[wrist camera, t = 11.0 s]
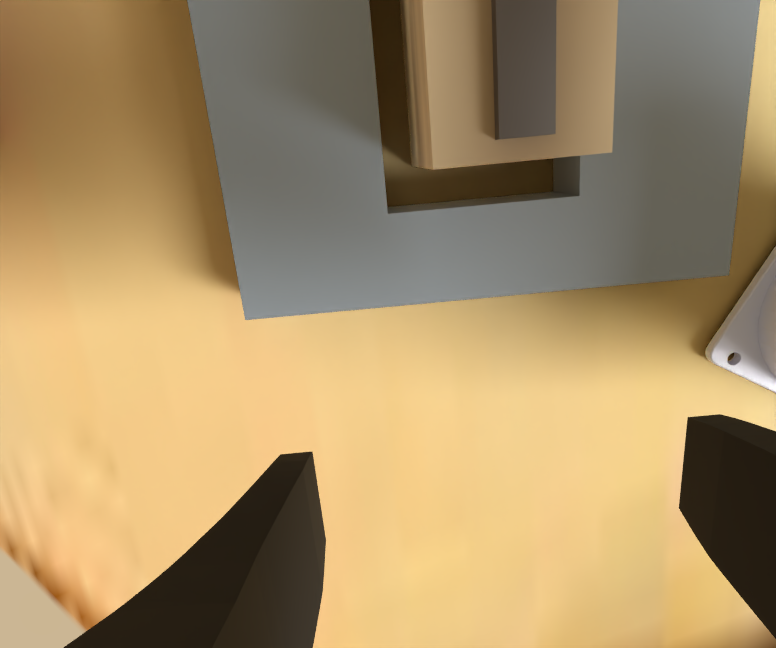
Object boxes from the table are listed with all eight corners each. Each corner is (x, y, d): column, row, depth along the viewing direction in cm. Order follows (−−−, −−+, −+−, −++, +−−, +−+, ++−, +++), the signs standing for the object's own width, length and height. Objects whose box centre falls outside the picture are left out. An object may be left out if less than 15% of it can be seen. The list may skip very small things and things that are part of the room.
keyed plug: (522, -44, 16) (635, -198, 9) (524, 155, 18) (620, 152, 11) (396, -31, 16) (414, -177, 9) (411, 166, 18) (435, 170, 11)
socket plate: (726, -210, 15) (792, -280, 13) (685, 261, 19) (729, 275, 17) (183, -157, 15) (147, -217, 13) (261, 300, 19) (245, 320, 17)
